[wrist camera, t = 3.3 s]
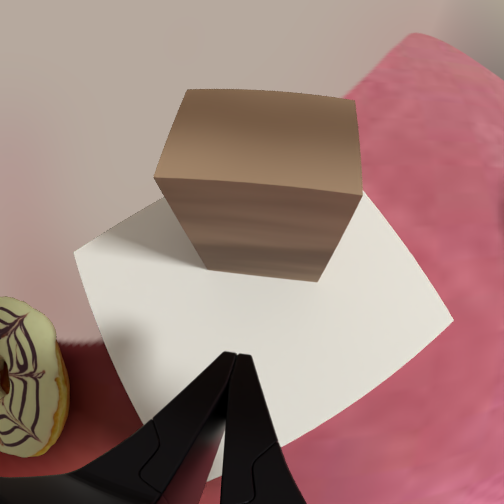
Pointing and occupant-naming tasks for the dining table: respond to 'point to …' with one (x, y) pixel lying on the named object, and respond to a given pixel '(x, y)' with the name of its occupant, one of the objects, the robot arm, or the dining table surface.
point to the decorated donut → (30, 381)
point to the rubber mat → (258, 317)
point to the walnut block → (263, 179)
